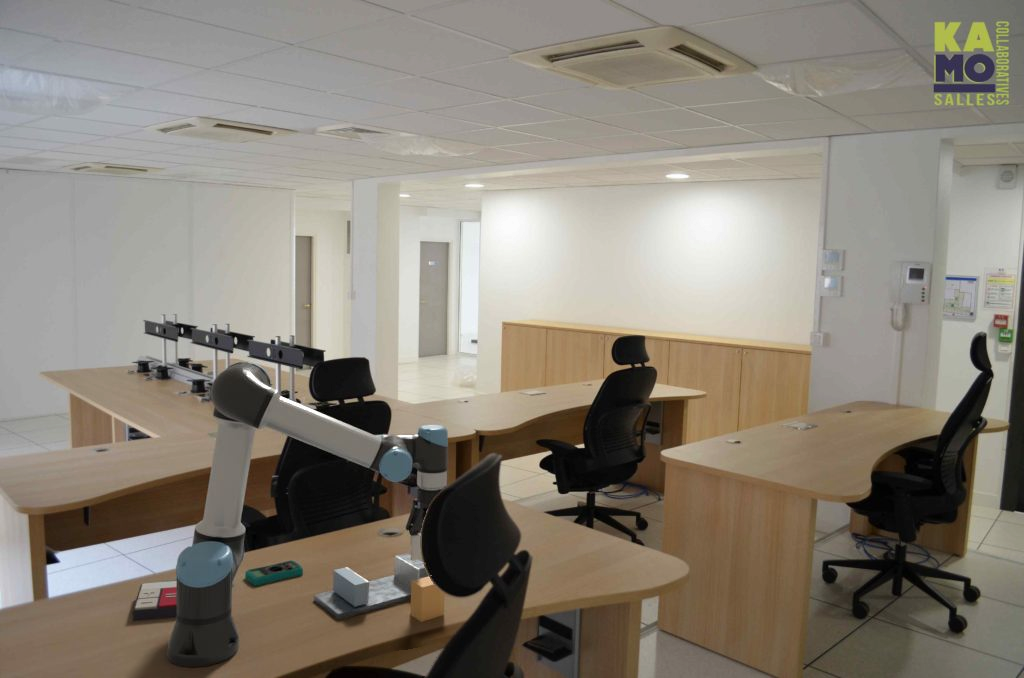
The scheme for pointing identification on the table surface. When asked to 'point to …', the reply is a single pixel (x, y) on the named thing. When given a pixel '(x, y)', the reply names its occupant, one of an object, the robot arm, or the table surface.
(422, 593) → the light orange block
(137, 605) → the calculator
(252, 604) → the table surface
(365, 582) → the block
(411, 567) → the vise base
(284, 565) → the digital multimeter
